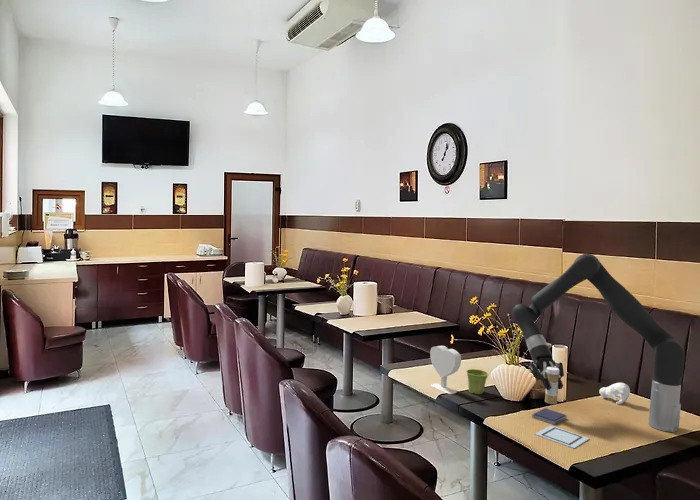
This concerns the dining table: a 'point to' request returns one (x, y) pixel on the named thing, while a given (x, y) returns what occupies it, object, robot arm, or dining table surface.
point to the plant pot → (476, 380)
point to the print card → (562, 436)
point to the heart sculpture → (445, 365)
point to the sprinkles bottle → (552, 385)
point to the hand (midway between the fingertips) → (555, 388)
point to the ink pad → (549, 416)
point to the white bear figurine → (616, 392)
